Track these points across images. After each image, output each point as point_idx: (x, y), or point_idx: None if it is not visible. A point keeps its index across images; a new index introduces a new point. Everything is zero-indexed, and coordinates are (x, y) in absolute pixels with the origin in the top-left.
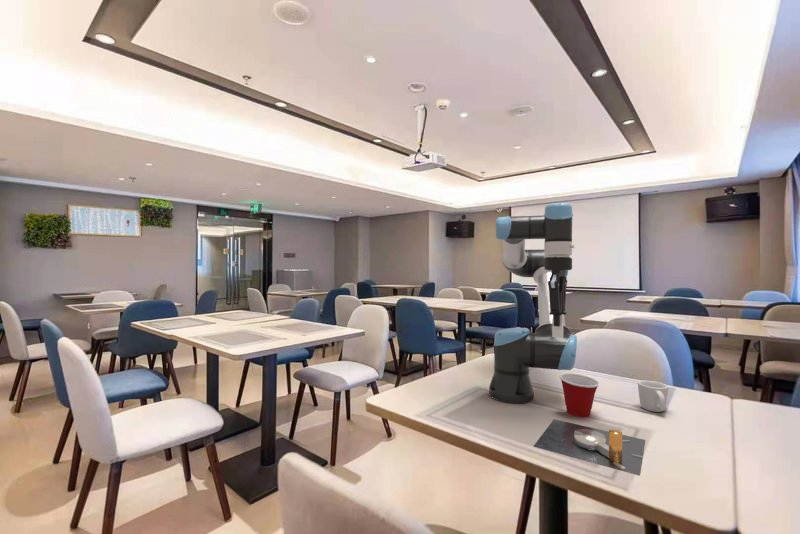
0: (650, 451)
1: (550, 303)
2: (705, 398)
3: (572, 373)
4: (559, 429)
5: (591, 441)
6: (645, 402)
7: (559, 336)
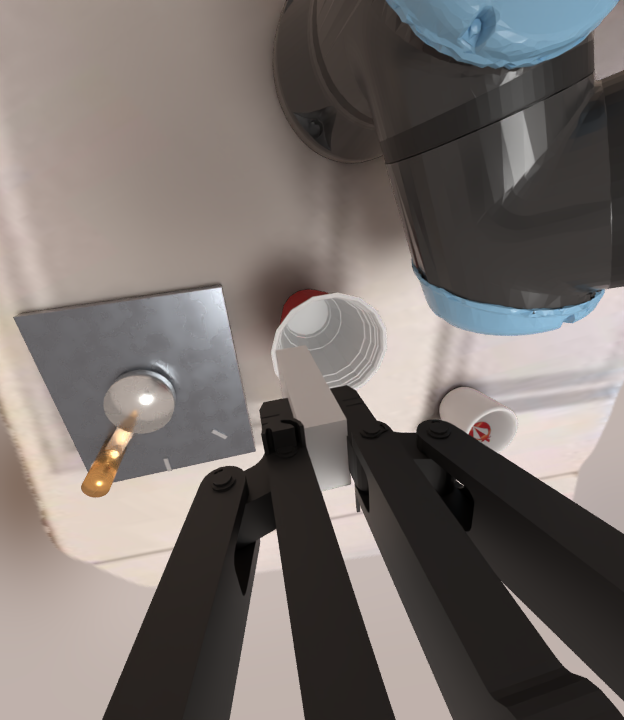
0: (237, 455)
1: (165, 581)
2: (563, 447)
3: (377, 314)
4: (167, 323)
5: (109, 419)
6: (448, 406)
7: (281, 390)
